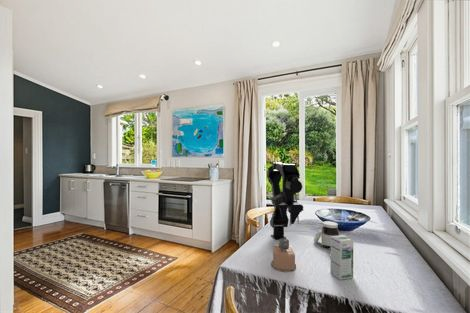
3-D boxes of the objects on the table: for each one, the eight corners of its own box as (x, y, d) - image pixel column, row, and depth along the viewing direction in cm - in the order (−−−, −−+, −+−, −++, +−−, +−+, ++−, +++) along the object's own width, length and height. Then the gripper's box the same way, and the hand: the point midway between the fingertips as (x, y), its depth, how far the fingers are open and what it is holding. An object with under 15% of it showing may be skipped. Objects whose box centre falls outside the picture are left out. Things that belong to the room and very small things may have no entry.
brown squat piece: (270, 259, 100) (271, 244, 99) (294, 260, 98) (294, 246, 98) (271, 270, 90) (271, 254, 90) (297, 272, 88) (298, 256, 88)
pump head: (278, 257, 96) (278, 238, 96) (288, 257, 96) (288, 238, 96) (279, 264, 90) (279, 243, 90) (289, 264, 89) (290, 244, 89)
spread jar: (340, 251, 109) (341, 226, 109) (315, 248, 112) (316, 225, 111) (334, 241, 121) (335, 219, 121) (312, 240, 123) (312, 218, 123)
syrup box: (340, 280, 83) (341, 240, 83) (329, 272, 89) (330, 235, 89) (353, 278, 85) (354, 239, 85) (341, 270, 91) (342, 234, 90)
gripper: (265, 187, 119) (265, 217, 119) (281, 193, 101) (281, 228, 101) (285, 186, 122) (284, 216, 122) (304, 192, 103) (303, 226, 104)
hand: (287, 221), depth 112 cm, fingers open, 9 cm apart
